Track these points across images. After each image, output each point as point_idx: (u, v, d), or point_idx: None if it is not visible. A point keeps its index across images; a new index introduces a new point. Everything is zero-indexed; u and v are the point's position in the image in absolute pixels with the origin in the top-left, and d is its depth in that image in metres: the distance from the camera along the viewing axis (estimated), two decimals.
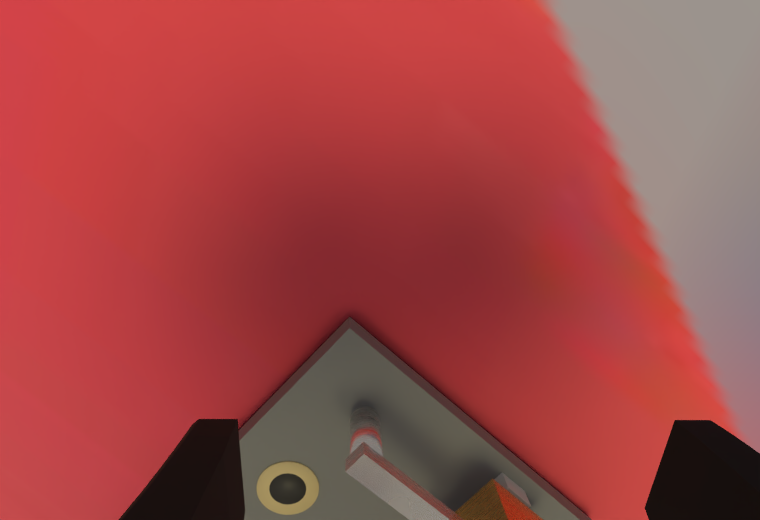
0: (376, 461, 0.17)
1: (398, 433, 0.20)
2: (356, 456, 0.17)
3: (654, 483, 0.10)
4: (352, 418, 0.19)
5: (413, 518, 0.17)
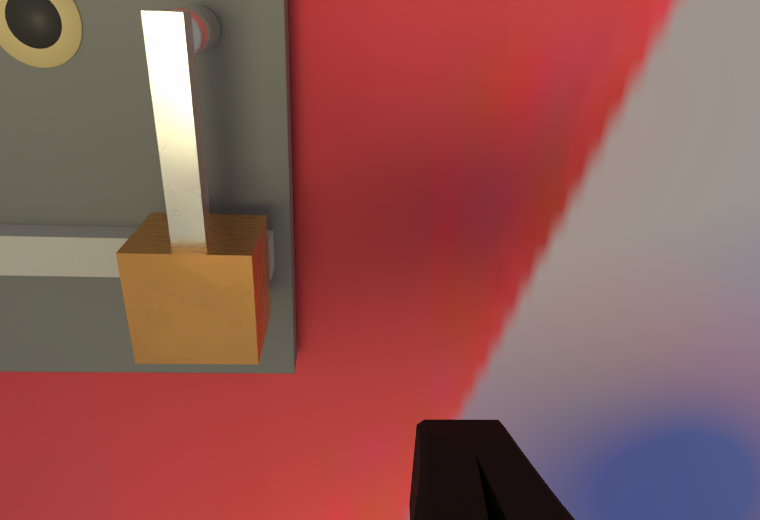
0: (186, 39, 0.11)
1: (215, 87, 0.15)
2: (169, 10, 0.11)
3: None
4: (190, 6, 0.13)
5: (164, 146, 0.12)
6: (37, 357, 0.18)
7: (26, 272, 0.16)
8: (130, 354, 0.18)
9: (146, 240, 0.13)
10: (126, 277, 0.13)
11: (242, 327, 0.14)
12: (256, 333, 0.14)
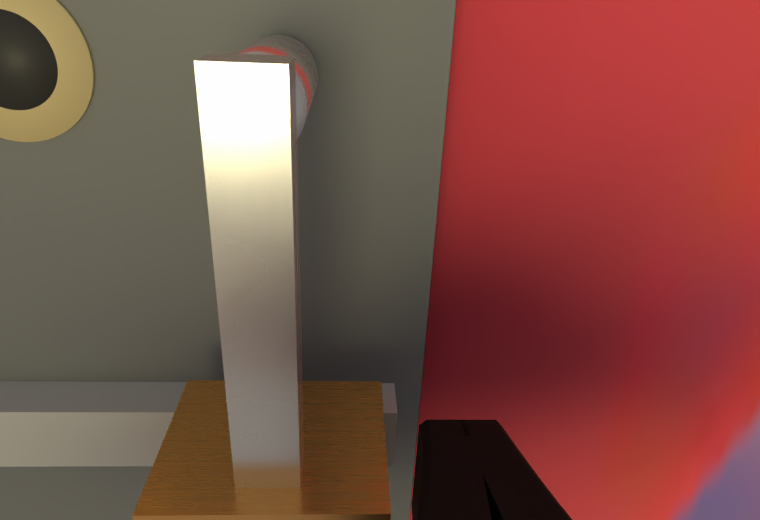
0: (291, 119, 0.05)
1: (321, 171, 0.09)
2: (256, 59, 0.05)
3: None
4: (269, 37, 0.07)
5: (231, 325, 0.06)
6: None
7: (1, 462, 0.10)
8: None
9: (187, 468, 0.07)
10: None
11: None
12: None
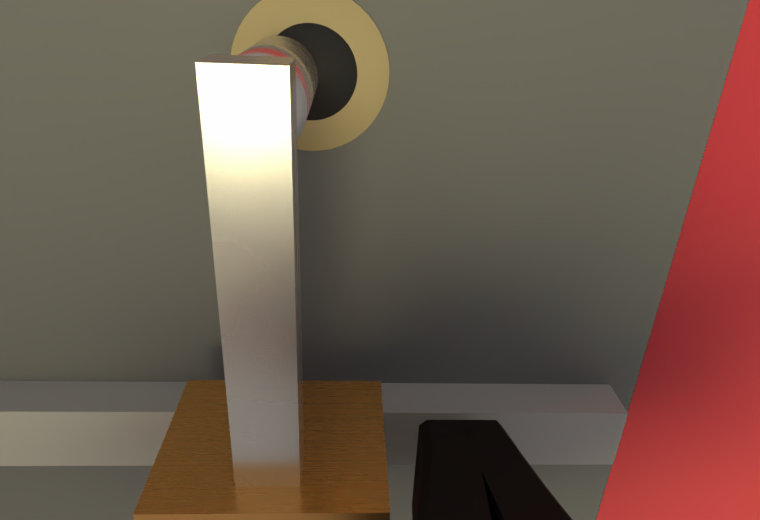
0: (291, 121, 0.05)
1: (582, 179, 0.09)
2: (258, 62, 0.05)
3: None
4: (270, 38, 0.07)
5: (232, 326, 0.06)
6: None
7: None
8: None
9: (187, 467, 0.07)
10: None
11: None
12: None
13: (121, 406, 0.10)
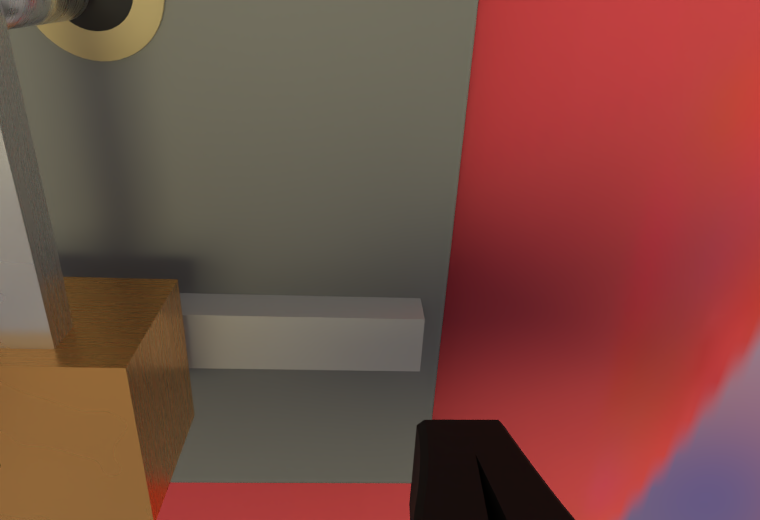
0: None
1: (361, 93, 0.10)
2: None
3: None
4: None
5: None
6: None
7: None
8: (202, 460, 0.13)
9: None
10: None
11: (122, 473, 0.08)
12: (147, 480, 0.09)
13: None
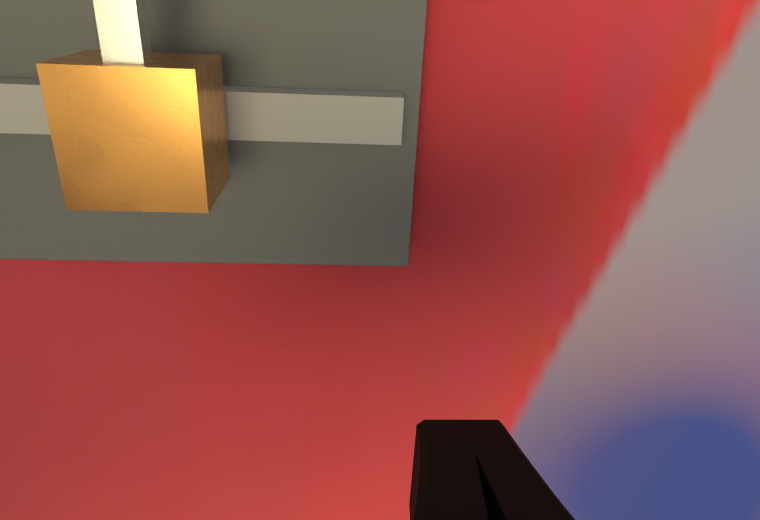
0: None
1: None
2: None
3: None
4: None
5: None
6: (132, 243, 0.17)
7: None
8: (232, 241, 0.17)
9: (75, 59, 0.12)
10: (50, 96, 0.11)
11: (188, 164, 0.12)
12: (204, 173, 0.12)
13: None
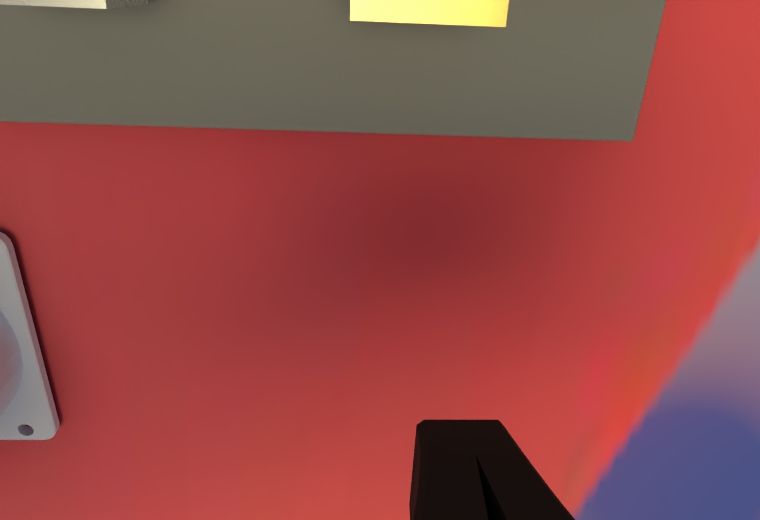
0: None
1: None
2: None
3: None
4: None
5: None
6: (341, 110, 0.15)
7: None
8: (450, 109, 0.15)
9: None
10: None
11: None
12: None
13: None
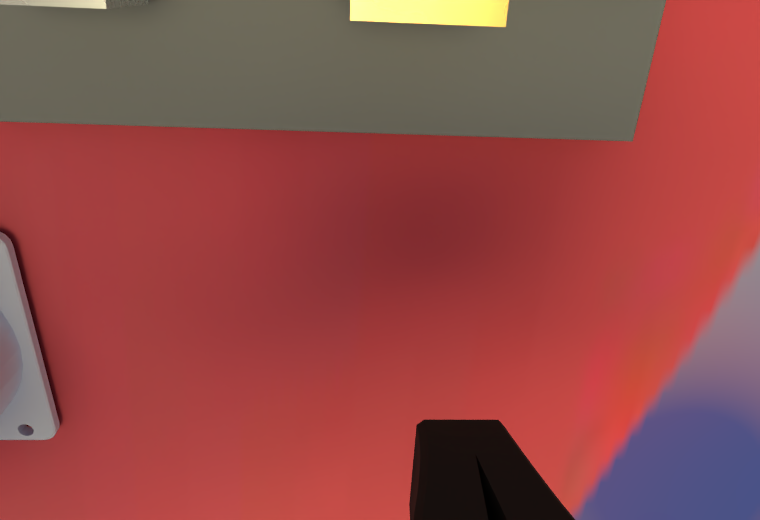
0: None
1: None
2: None
3: None
4: None
5: None
6: (341, 110, 0.15)
7: None
8: (450, 109, 0.15)
9: None
10: None
11: None
12: None
13: None
